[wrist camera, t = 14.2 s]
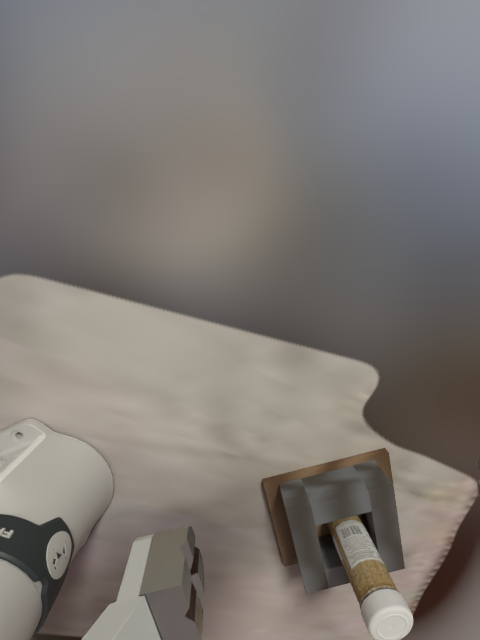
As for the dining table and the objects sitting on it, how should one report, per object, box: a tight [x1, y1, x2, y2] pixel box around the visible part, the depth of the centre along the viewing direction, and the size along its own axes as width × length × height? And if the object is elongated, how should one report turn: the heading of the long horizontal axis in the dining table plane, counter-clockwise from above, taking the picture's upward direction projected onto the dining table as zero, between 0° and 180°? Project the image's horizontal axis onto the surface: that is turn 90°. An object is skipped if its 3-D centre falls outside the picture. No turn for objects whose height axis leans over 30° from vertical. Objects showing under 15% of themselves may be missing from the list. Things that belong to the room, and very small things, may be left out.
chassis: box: [262, 448, 405, 594], centre depth 42 cm, size 17×14×6 cm
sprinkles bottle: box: [326, 515, 413, 640], centre depth 37 cm, size 5×5×14 cm
